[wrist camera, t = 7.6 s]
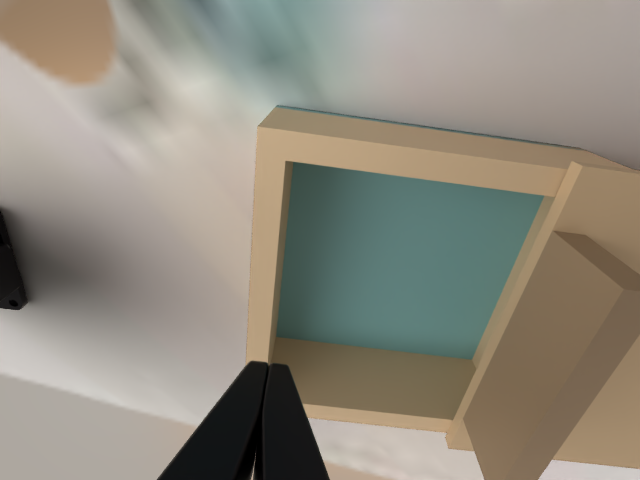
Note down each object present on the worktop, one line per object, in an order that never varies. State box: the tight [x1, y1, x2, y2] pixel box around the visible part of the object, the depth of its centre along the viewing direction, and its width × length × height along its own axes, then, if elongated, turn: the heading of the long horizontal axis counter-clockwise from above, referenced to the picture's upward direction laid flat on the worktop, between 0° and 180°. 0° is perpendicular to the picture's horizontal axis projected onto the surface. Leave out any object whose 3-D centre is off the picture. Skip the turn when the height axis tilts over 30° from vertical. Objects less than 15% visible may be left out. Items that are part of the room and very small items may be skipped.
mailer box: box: [246, 105, 631, 433], centre depth 18 cm, size 14×14×5 cm
